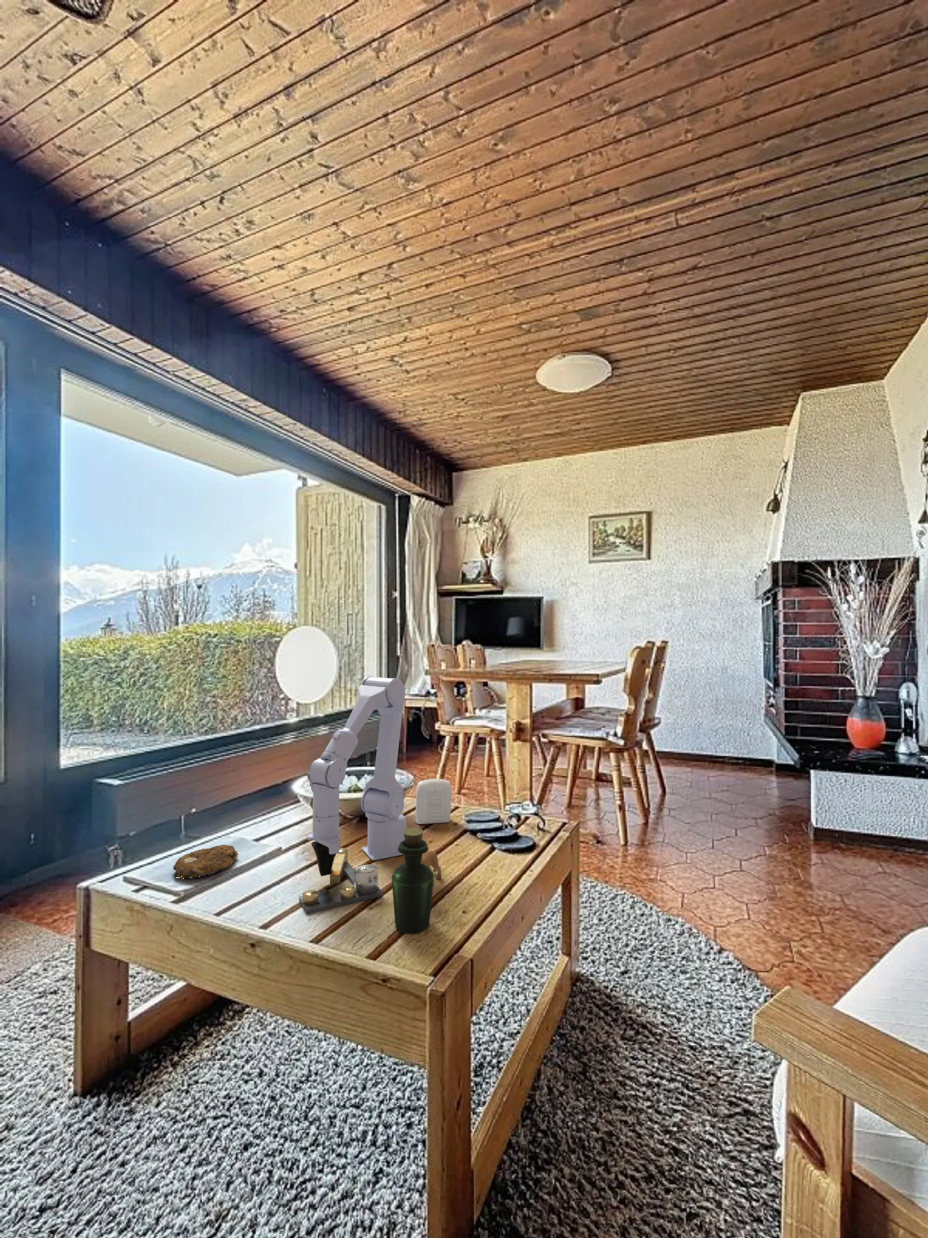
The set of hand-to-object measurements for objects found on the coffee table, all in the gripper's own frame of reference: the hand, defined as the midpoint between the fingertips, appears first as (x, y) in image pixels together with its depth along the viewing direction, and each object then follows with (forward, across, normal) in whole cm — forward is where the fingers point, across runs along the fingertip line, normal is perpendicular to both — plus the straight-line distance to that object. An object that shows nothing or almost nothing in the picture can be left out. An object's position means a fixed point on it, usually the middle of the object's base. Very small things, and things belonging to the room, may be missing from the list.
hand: (325, 874), depth 128 cm
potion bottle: (+2, +25, +10) cm, 27 cm away
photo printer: (+2, -24, +38) cm, 45 cm away
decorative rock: (+2, -21, -22) cm, 30 cm away
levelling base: (+2, +3, +1) cm, 3 cm away
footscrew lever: (+2, -3, +4) cm, 5 cm away
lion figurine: (+2, +12, +18) cm, 22 cm away
